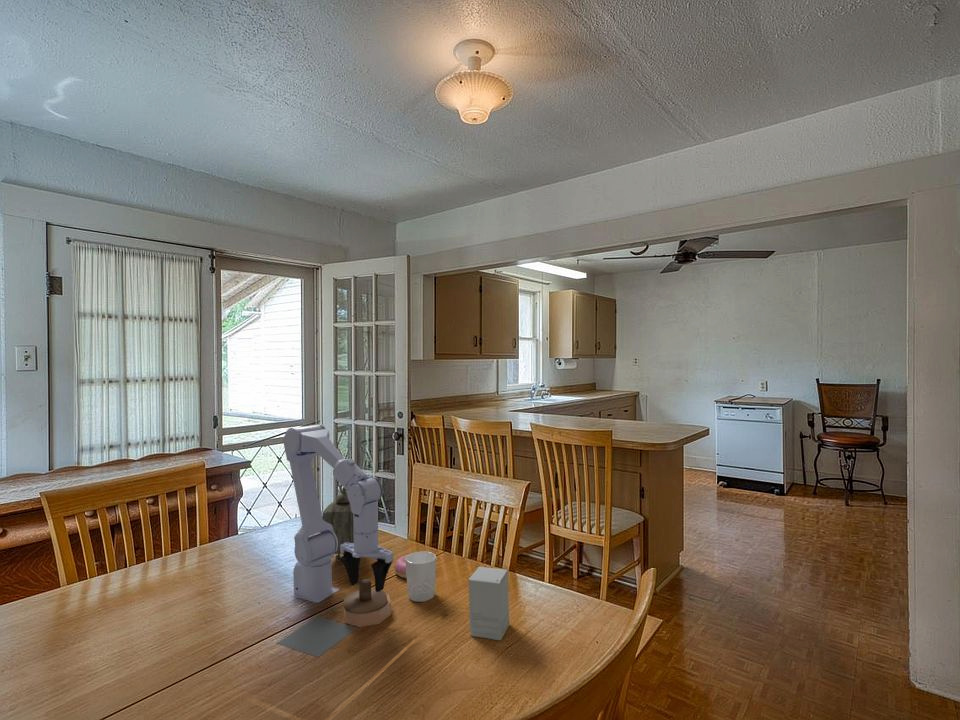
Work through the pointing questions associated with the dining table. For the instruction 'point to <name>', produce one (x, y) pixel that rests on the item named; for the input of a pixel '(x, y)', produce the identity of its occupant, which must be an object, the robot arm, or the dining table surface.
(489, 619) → the supplement box
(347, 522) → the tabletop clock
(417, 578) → the white cup
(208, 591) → the dining table surface
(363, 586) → the lid
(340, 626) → the mat
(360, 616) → the bowl
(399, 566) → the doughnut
